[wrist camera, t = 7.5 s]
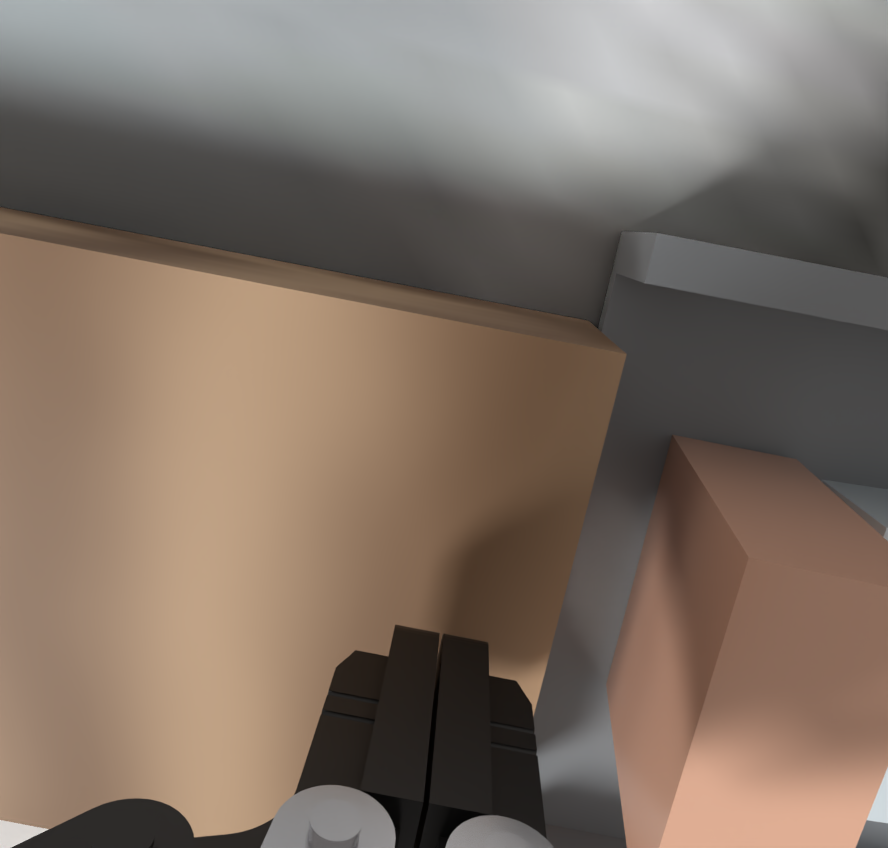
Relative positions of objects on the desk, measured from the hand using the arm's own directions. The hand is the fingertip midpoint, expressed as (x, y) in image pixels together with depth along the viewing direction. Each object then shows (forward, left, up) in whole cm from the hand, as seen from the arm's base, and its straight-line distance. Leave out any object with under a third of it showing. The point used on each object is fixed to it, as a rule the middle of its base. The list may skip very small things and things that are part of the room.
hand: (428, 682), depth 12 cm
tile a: (+3, +3, -2) cm, 4 cm away
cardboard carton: (-6, -4, -5) cm, 9 cm away
